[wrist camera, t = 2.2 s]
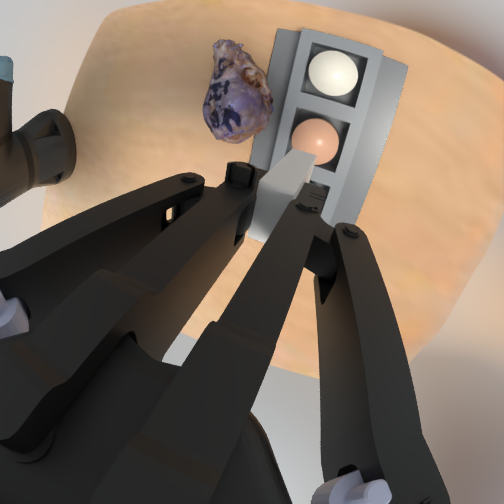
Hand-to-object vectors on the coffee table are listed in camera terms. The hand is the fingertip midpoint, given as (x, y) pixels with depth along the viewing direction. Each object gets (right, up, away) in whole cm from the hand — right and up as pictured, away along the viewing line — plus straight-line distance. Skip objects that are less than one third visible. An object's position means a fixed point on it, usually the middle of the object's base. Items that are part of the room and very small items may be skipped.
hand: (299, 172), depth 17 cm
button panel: (+5, +8, +12) cm, 15 cm away
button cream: (+5, +12, +6) cm, 14 cm away
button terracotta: (+4, +7, +10) cm, 12 cm away
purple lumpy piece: (-4, +13, +11) cm, 18 cm away
